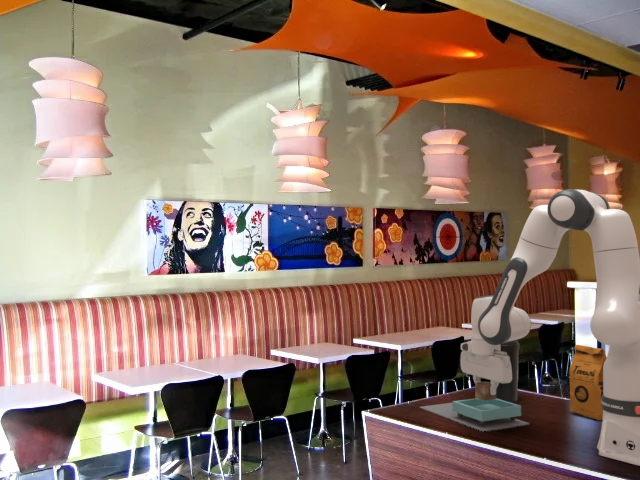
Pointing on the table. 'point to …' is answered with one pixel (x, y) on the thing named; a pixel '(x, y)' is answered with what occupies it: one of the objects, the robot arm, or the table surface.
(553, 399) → the table surface
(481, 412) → the cyan square tray
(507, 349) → the water bottle
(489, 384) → the walnut block
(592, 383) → the coffee package
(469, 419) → the grey rectangular mat
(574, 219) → the robot arm
